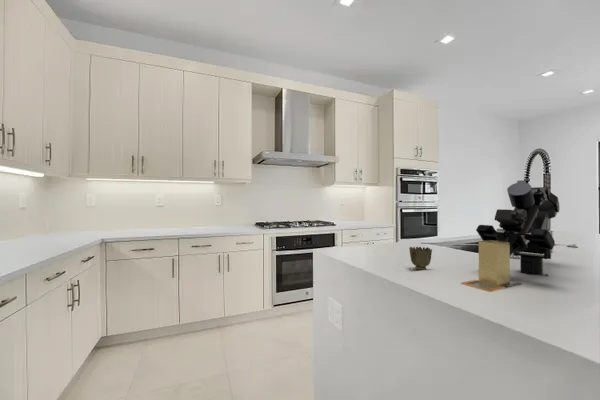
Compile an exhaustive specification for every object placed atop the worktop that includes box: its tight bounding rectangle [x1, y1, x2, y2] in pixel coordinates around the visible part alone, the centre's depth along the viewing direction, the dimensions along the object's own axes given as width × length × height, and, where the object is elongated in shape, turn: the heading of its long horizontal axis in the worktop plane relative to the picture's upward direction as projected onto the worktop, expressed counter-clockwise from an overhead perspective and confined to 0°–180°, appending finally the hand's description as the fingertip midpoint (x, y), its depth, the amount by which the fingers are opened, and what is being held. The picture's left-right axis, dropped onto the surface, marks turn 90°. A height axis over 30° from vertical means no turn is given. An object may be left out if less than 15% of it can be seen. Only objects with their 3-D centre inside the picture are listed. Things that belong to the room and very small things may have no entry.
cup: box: [408, 246, 433, 272], centre depth 100 cm, size 8×7×8 cm
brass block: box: [478, 240, 511, 287], centre depth 80 cm, size 6×5×12 cm
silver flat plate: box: [460, 279, 523, 293], centre depth 80 cm, size 15×8×1 cm, turn 115°
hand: (500, 257), depth 81 cm, fingers closed
